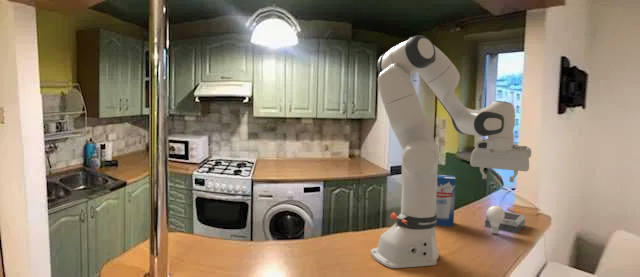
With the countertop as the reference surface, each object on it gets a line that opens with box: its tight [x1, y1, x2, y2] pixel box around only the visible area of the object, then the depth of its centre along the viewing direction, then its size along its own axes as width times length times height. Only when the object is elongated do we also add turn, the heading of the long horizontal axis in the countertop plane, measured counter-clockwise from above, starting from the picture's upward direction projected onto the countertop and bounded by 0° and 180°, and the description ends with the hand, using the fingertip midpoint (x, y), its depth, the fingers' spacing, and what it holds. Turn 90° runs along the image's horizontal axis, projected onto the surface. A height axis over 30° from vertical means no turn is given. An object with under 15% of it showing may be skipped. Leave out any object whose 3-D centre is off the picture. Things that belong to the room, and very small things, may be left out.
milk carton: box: [436, 174, 457, 228], centre depth 156 cm, size 10×6×20 cm, turn 76°
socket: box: [484, 211, 526, 234], centre depth 154 cm, size 12×12×4 cm
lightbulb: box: [486, 205, 506, 235], centre depth 145 cm, size 6×6×11 cm
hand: (497, 180), depth 143 cm, fingers open, 8 cm apart
